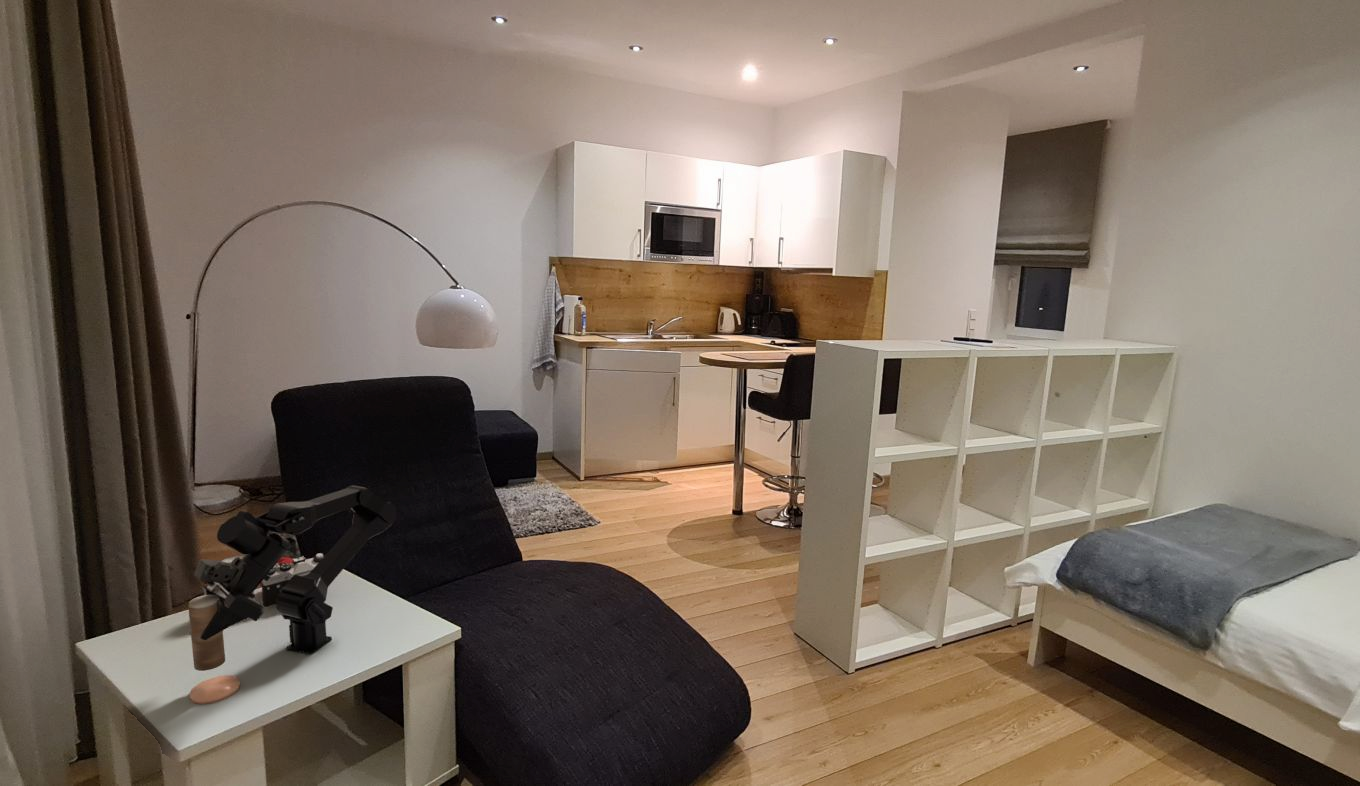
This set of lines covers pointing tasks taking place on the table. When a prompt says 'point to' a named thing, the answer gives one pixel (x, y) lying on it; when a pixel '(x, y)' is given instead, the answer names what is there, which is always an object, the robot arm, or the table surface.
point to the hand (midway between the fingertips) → (198, 634)
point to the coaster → (214, 689)
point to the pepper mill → (200, 615)
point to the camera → (285, 577)
